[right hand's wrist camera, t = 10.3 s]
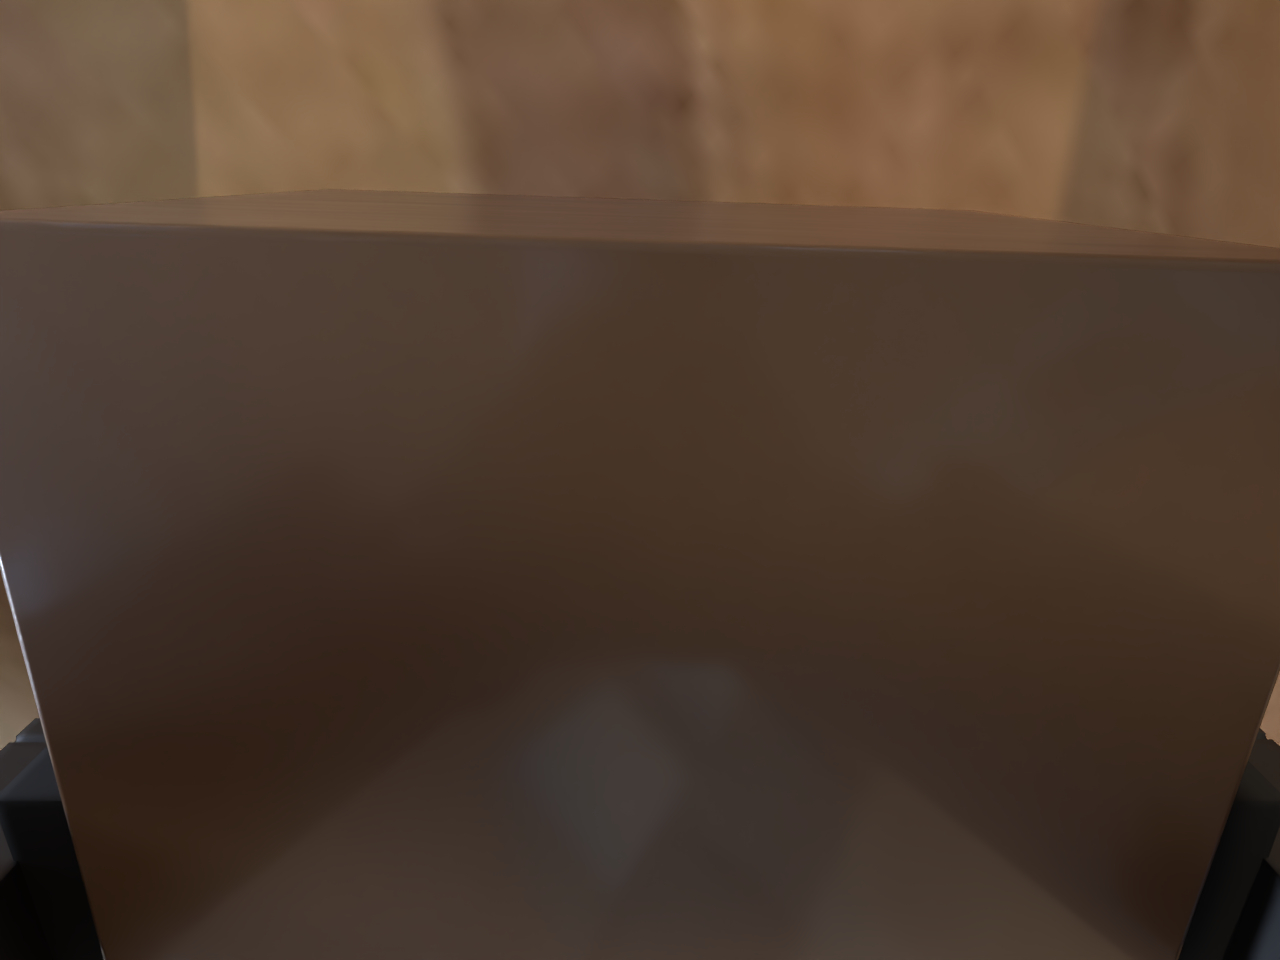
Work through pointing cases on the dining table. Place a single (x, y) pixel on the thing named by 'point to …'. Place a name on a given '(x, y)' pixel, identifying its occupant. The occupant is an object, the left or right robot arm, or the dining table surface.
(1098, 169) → the dining table surface
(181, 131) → the dining table surface
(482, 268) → the thick board
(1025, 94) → the dining table surface
